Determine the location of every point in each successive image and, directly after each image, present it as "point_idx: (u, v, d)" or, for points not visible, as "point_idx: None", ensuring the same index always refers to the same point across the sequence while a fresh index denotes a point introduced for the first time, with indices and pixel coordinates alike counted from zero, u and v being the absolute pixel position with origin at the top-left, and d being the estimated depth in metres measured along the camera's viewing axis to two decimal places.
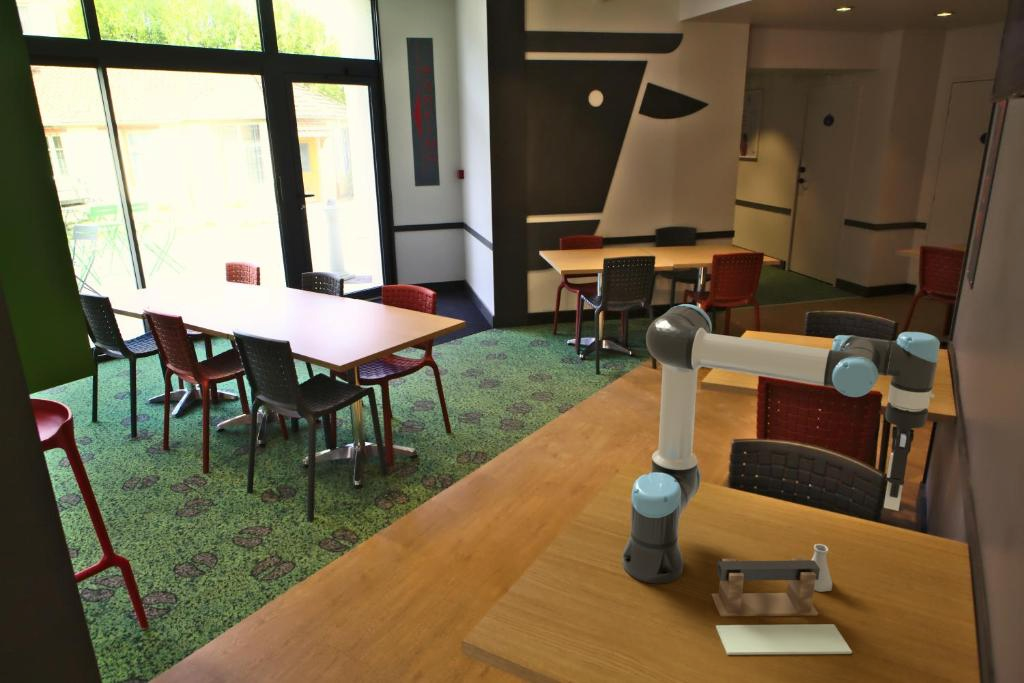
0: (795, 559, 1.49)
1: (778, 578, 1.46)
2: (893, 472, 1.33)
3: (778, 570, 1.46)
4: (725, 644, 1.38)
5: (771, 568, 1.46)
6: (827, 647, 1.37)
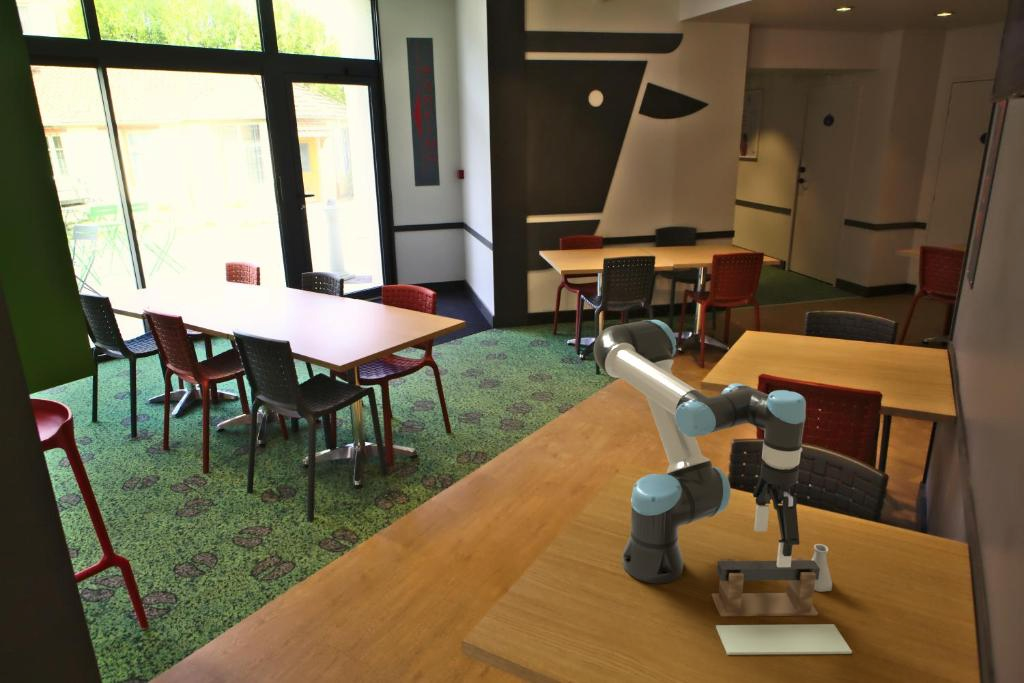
0: (795, 559, 1.49)
1: (778, 578, 1.46)
2: (789, 534, 1.34)
3: (778, 570, 1.46)
4: (725, 644, 1.38)
5: (771, 568, 1.46)
6: (827, 647, 1.37)
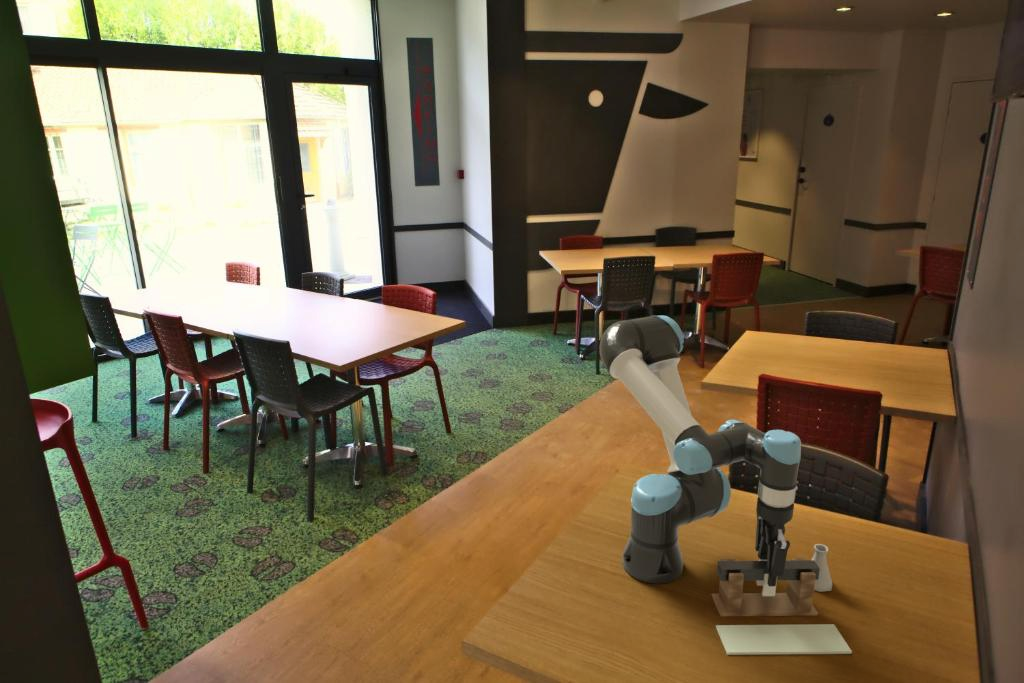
0: (795, 559, 1.49)
1: (778, 578, 1.46)
2: (775, 569, 1.41)
3: None
4: (725, 644, 1.38)
5: None
6: (827, 647, 1.37)
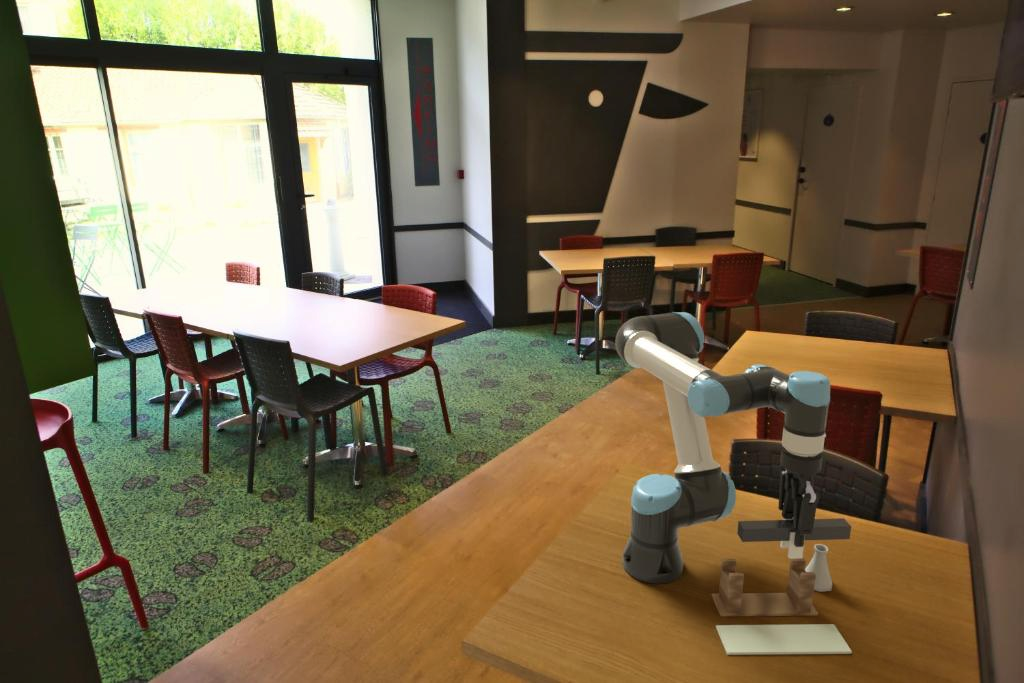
0: (795, 559, 1.49)
1: (805, 538, 1.32)
2: (803, 526, 1.27)
3: None
4: (725, 644, 1.38)
5: None
6: (827, 647, 1.37)
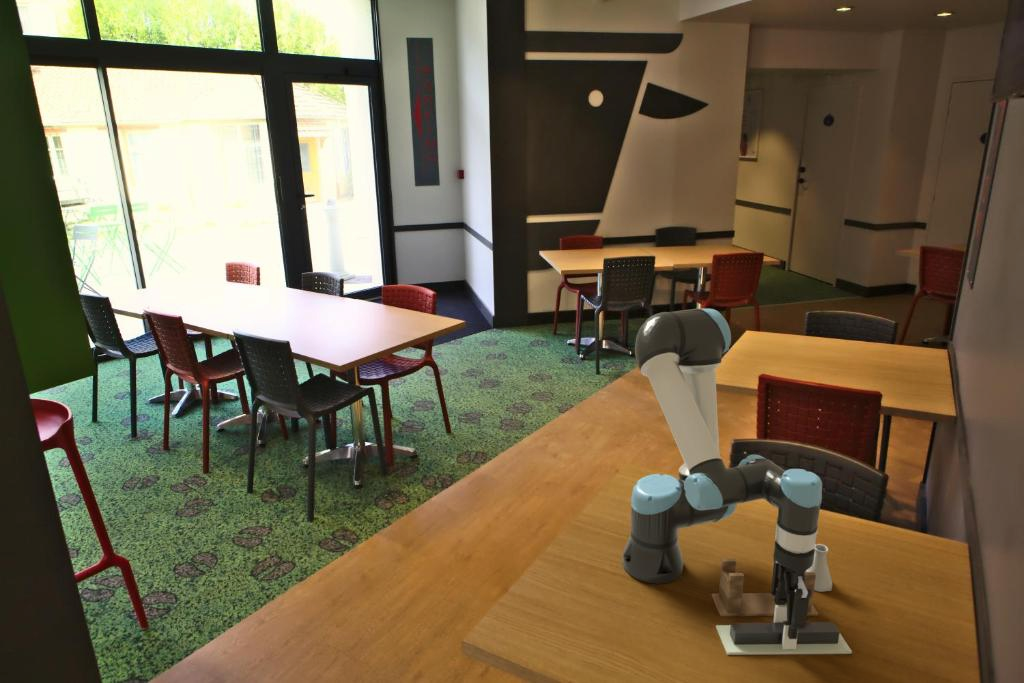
0: None
1: None
2: (796, 621, 1.30)
3: None
4: (725, 644, 1.38)
5: None
6: (827, 647, 1.37)
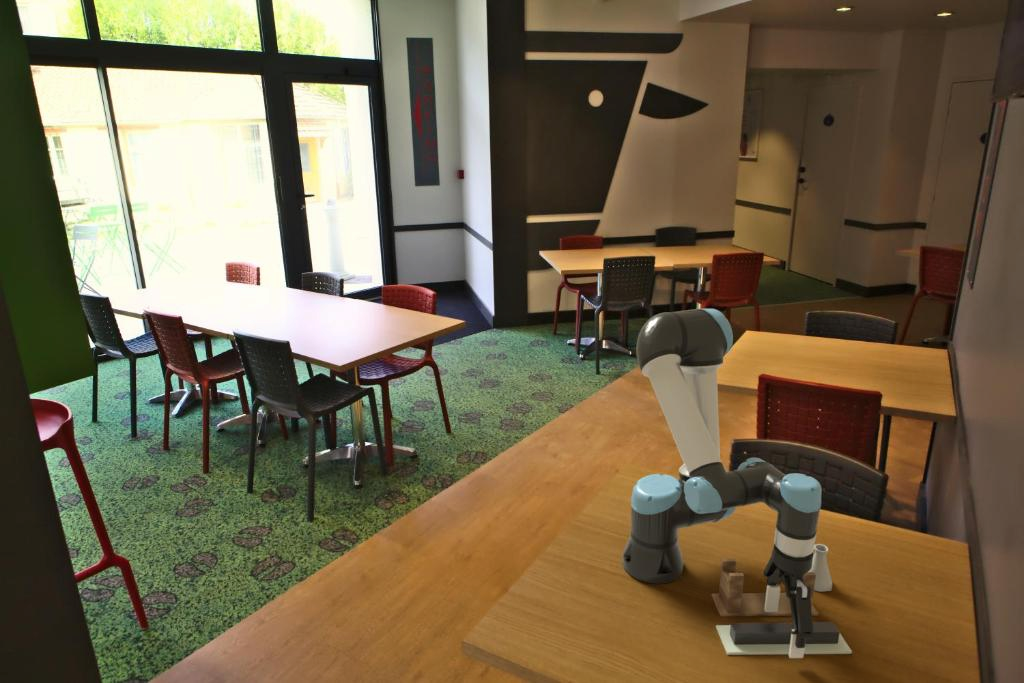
0: None
1: None
2: (802, 627, 1.27)
3: None
4: (725, 644, 1.38)
5: (788, 631, 1.37)
6: (827, 647, 1.37)
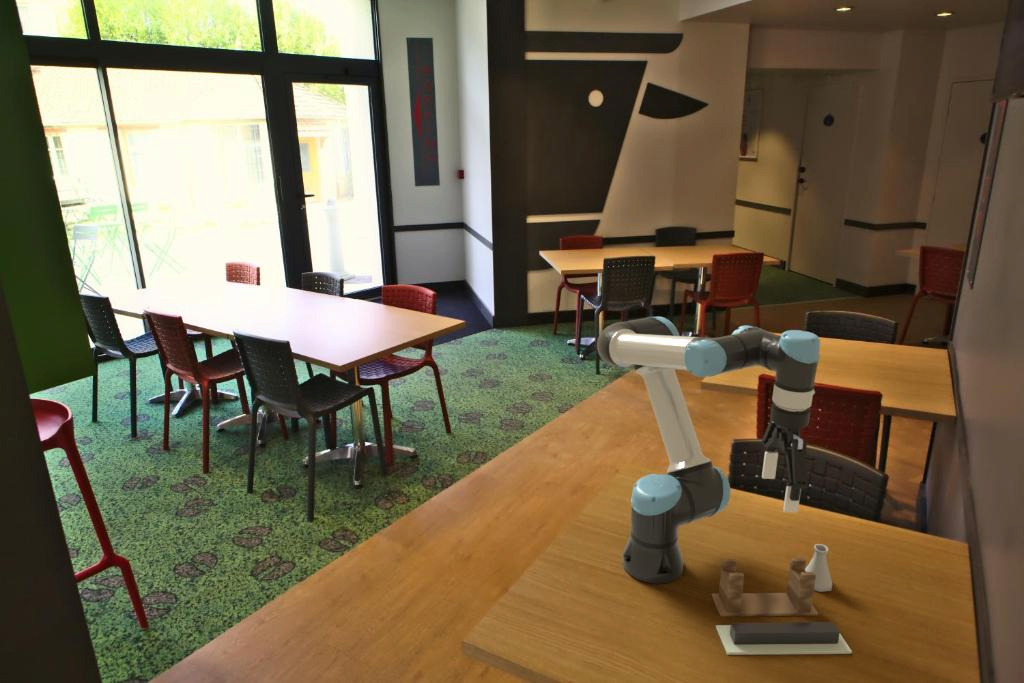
0: (795, 559, 1.49)
1: (795, 642, 1.38)
2: (797, 477, 1.29)
3: (795, 634, 1.37)
4: (725, 644, 1.38)
5: (788, 631, 1.37)
6: (827, 647, 1.37)
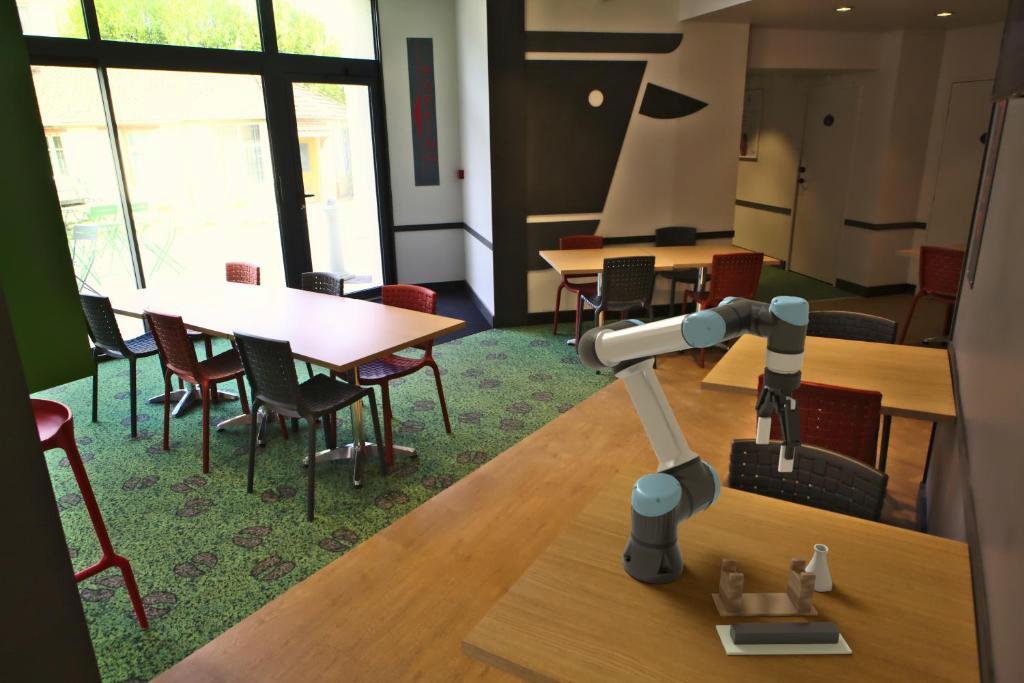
0: (795, 559, 1.49)
1: (795, 642, 1.38)
2: (791, 436, 1.35)
3: (795, 634, 1.37)
4: (725, 644, 1.38)
5: (788, 631, 1.37)
6: (827, 647, 1.37)
